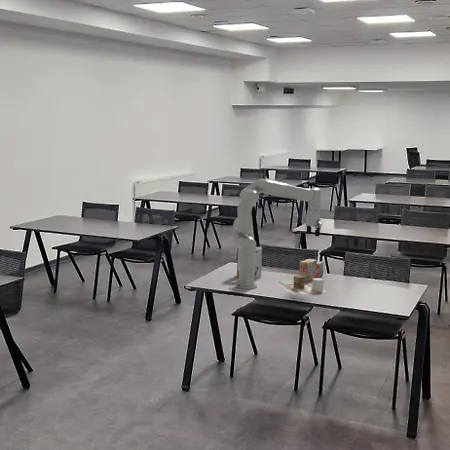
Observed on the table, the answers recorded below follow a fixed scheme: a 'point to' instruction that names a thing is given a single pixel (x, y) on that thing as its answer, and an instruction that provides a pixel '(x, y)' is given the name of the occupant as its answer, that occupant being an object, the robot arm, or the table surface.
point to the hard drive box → (257, 262)
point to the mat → (287, 282)
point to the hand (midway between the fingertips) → (313, 234)
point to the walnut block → (299, 282)
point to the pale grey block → (317, 284)
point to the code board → (305, 290)
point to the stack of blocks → (311, 269)
